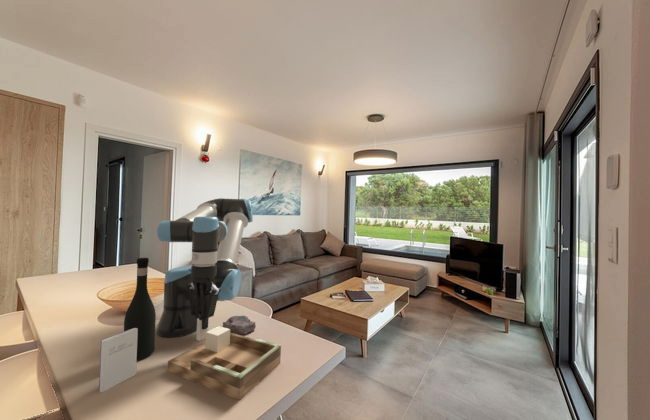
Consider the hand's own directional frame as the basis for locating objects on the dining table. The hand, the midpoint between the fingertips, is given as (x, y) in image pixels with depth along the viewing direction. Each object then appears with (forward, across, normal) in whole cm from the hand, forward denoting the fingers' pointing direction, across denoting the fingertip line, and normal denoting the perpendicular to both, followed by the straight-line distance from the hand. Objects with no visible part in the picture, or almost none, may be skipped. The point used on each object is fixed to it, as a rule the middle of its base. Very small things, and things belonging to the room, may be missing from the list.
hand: (201, 338), depth 83 cm
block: (+1, +6, 0) cm, 7 cm away
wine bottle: (+5, -15, -10) cm, 19 cm away
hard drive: (+5, -6, -20) cm, 22 cm away
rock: (+6, +4, +16) cm, 17 cm away
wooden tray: (+5, +14, -3) cm, 15 cm away
